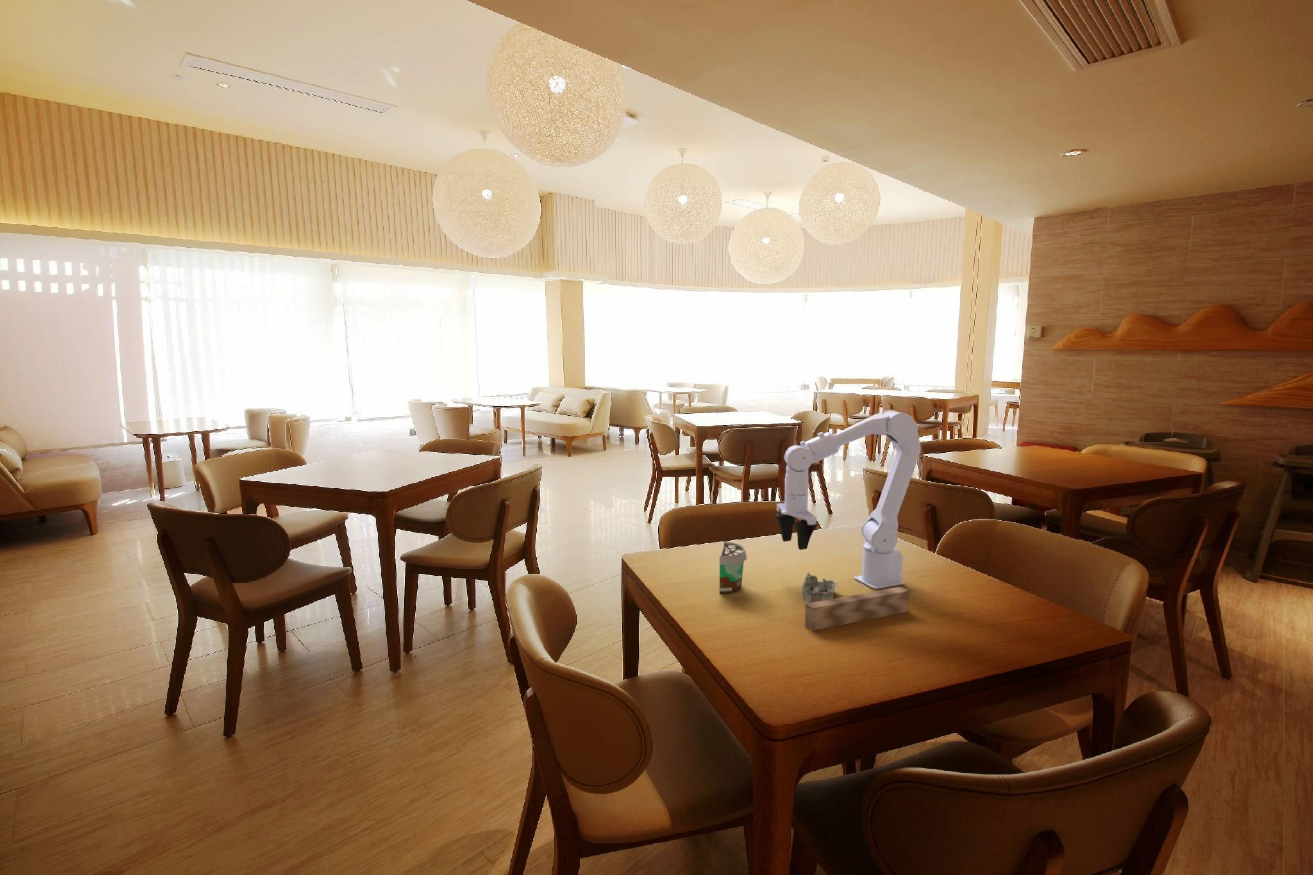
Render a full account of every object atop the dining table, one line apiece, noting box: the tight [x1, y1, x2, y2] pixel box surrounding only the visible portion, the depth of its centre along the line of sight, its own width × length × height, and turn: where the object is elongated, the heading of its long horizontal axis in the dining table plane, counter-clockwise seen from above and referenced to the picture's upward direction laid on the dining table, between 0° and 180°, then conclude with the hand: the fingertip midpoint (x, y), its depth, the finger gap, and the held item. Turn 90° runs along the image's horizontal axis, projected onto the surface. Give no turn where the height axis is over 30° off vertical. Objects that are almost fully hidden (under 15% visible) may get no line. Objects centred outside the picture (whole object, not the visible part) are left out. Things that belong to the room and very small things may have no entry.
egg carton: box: [801, 572, 838, 604], centre depth 142 cm, size 11×8×4 cm
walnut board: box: [804, 586, 910, 632], centre depth 130 cm, size 26×2×5 cm, turn 111°
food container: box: [719, 541, 748, 595], centre depth 147 cm, size 12×6×10 cm, turn 168°
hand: (794, 544), depth 151 cm, fingers open, 6 cm apart
